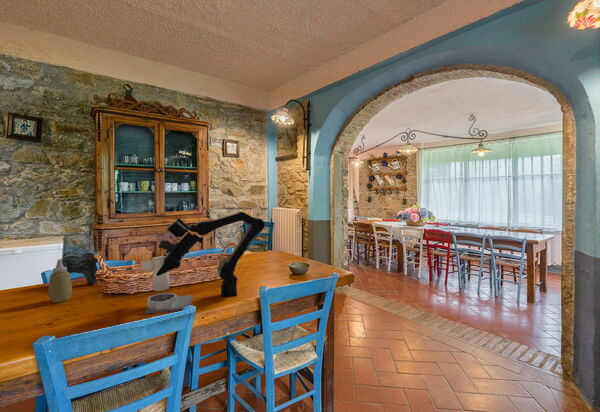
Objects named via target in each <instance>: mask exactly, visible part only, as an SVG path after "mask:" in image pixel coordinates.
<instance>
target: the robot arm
mask: <svg viewBox="0 0 600 412" xmlns="http://www.w3.org/2000/svg"><path fill="white" fill-rule="evenodd" d="M241 221H242V222H244V223H245V224H247V227H246V230H245V233H244V235H243V236H242V238H241V239H240V241H239V242H238V244H237V245H236V247H235V248H234V249H233V251H232V253H231V254H230V255H229V257H228V258H227V259H222V260H221V262H220V264H219V265H218V266H217V274H218V276H219V278H220V279H221V280H222V283H221V284H220V294H221V297H222V298H228V297H237V296H238V292H237V289H238V288H237V282H238V280H239V279H238V277H237V276H236V275H235V271H236V266H237V263H238V262H239V261H240V259H241V257H242V256H243V254H244V253H245V251H246V250H247V248H248V247H249V245H250V244H251V242H252V241H253V239H254V238H255V237H256V236H258V235H259V234H260V233H261V232H262V231H263V230H264V228H265V221H264V220H263V219H262V218H259V217H253V216H251V215H249V214H247V213H246V212H245V211H238V212H236V213H233V214H230V215H227V216H223V217H220V218H216V219H209V220H200V221H197V222H195V224H190V225H187V224H186V223H185V222H184V220H182V218H180V217H178V218H177V219H176V220H174V221H173V222H171V224H169V225H168V226H167V228H166V230H167V231H168V232H169V233H170V234H172V235H173V237H174V236H175V238H176V239H177V238H180V240H179V241H175V243H174V242H171V241H170V240H168V239H162V238H161V240H160V242H159V244H158V247H157V248H159V249H163V250H165V251H164V254H163V256H166V257H165V258H164V264H163V265H162V267H161V268H160V269H159V271H158V272H157V274H156V275H157V276H159V275H162V274H164V273H166V272H168V271H169V272H170V271H172V270H174V269H178V268H179V267H181V261H182V260H183V258H184V256H185V255H186V254H188V253H190V250H191V249H192V248H193V247H194V246H195V245H196V244H197V243H199V244H200V245H203V239H204V238H203V236H205V235H209V234H210V233H211V232H213V231H215V230H217V229H219V228H221V227H225V226H228V225H231V224H235V223H237V222H241ZM191 232H192V233H191ZM196 233H197V234H196Z"/></svg>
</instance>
